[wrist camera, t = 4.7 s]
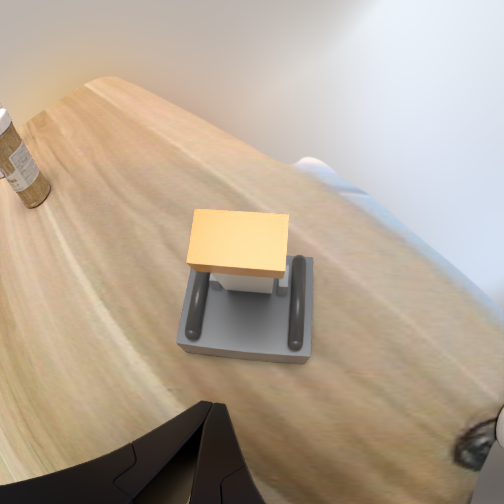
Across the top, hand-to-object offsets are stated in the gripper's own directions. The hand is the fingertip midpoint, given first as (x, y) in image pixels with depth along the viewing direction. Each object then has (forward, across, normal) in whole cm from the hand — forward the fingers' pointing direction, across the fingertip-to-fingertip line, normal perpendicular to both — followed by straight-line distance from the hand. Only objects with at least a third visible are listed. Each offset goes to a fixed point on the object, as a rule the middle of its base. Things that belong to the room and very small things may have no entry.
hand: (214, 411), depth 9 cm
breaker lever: (+13, 0, 0) cm, 13 cm away
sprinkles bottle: (+23, -29, +5) cm, 37 cm away
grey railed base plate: (+14, 0, -3) cm, 15 cm away
